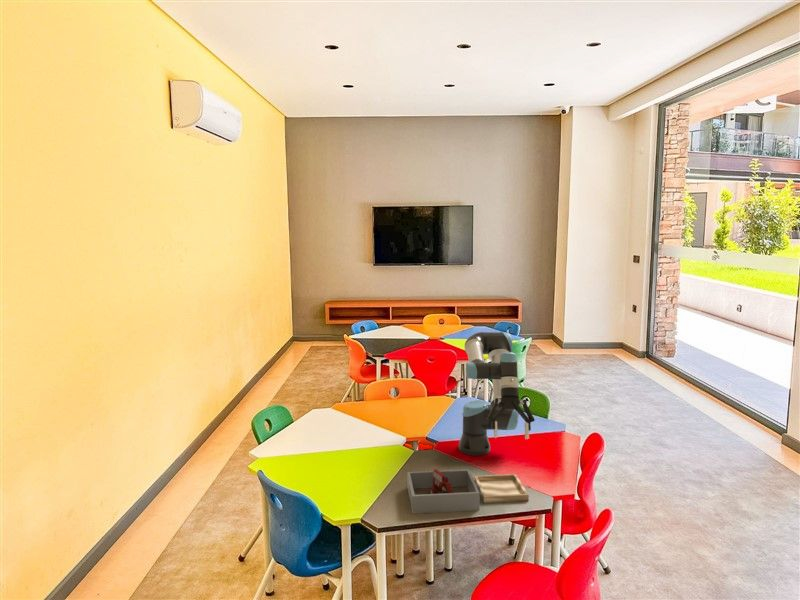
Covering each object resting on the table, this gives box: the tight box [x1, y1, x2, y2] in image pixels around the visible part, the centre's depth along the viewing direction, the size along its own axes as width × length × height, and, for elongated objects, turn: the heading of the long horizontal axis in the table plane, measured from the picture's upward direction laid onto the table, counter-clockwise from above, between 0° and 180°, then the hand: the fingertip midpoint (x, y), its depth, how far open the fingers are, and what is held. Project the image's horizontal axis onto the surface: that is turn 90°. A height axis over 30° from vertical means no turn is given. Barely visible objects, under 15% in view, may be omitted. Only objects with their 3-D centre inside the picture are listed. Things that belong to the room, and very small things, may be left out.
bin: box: [406, 468, 481, 514], centre depth 221 cm, size 20×26×7 cm
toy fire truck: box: [428, 468, 455, 494], centre depth 221 cm, size 7×12×10 cm, turn 29°
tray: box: [473, 473, 530, 504], centre depth 227 cm, size 18×18×2 cm
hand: (511, 438), depth 232 cm, fingers open, 13 cm apart
